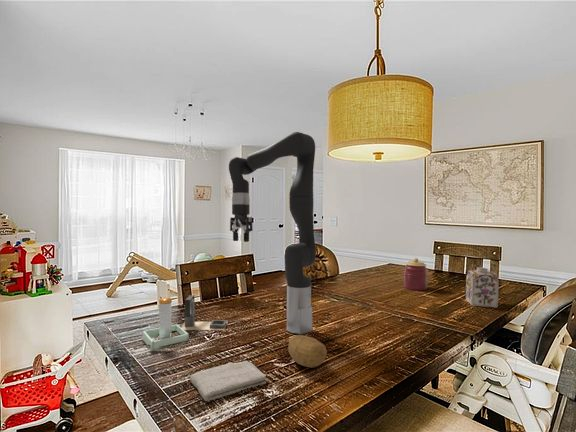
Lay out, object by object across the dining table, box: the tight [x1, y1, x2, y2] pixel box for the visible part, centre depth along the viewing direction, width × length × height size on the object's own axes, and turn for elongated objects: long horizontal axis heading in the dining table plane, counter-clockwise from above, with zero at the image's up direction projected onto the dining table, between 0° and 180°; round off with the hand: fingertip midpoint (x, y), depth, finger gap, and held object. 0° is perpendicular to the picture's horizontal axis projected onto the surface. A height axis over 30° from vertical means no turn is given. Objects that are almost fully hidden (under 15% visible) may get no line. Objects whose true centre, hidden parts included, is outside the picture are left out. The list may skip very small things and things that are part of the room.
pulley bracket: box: [180, 295, 228, 331], centre depth 132 cm, size 17×9×12 cm, turn 92°
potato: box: [287, 334, 328, 369], centre depth 103 cm, size 10×14×8 cm
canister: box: [403, 257, 428, 291], centre depth 202 cm, size 13×13×18 cm
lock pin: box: [158, 297, 173, 340], centre depth 119 cm, size 4×4×14 cm
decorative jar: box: [465, 266, 500, 309], centre depth 170 cm, size 12×12×18 cm
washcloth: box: [189, 360, 267, 402], centre depth 92 cm, size 12×18×3 cm, turn 124°
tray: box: [141, 323, 190, 352], centre depth 119 cm, size 12×12×3 cm
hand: (240, 241), depth 148 cm, fingers open, 8 cm apart
